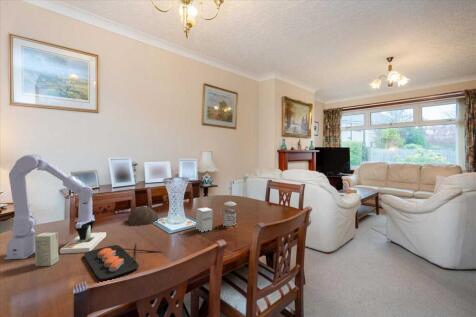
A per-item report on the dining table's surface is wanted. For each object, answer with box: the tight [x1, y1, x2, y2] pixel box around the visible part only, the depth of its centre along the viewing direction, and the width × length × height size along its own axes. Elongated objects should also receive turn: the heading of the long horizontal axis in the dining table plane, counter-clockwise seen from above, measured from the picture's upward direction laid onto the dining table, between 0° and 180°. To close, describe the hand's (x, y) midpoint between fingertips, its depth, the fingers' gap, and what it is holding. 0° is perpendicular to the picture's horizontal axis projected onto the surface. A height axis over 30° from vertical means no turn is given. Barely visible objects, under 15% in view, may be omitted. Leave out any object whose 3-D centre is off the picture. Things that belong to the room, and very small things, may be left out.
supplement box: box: [195, 207, 213, 233], centre depth 137 cm, size 7×7×13 cm
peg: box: [80, 225, 92, 242], centre depth 112 cm, size 4×4×7 cm
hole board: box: [59, 232, 107, 255], centre depth 112 cm, size 20×12×2 cm, turn 11°
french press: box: [219, 186, 237, 226], centre depth 147 cm, size 10×12×25 cm
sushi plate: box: [84, 244, 162, 280], centre depth 101 cm, size 29×30×4 cm
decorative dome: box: [126, 206, 160, 227], centre depth 151 cm, size 19×20×10 cm
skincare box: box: [34, 232, 60, 267], centre depth 93 cm, size 6×4×12 cm
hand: (85, 237), depth 112 cm, fingers closed on peg, 4 cm apart
